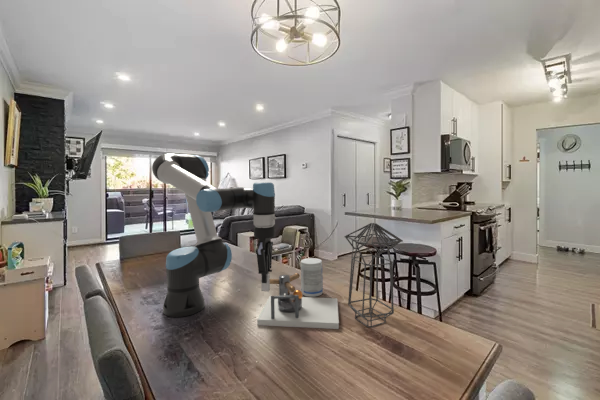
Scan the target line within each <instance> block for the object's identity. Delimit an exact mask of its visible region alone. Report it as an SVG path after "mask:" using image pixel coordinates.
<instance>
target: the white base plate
mask: <svg viewBox="0 0 600 400" xmlns="http://www.w3.org/2000/svg"><path fill="white" fill-rule="evenodd" d="M281 298H295V312H291V313H288V312H282V311H280V310H279V309H278V299H281ZM338 303H339V302H338V298H337V297H334V298H332V297H307V296H302V308H301V309H300V310H299V296H298V295H286V293H285V294H284V296H279V295H269V296H268V298H267V300H266V301H265V304H264V306H263V308H262V310H261V312H260V314H259V316H258V317H257V319H256V320H257V323H256V325H257V326H266V327H267V326H270V327H285V328H287V327H291V328H309V329H310V328H311V329H328V330H330V329H331V330H333V329H334V330H339V328H340V326H339V325H340V320H339V319H340V318H339V304H338Z"/></svg>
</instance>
